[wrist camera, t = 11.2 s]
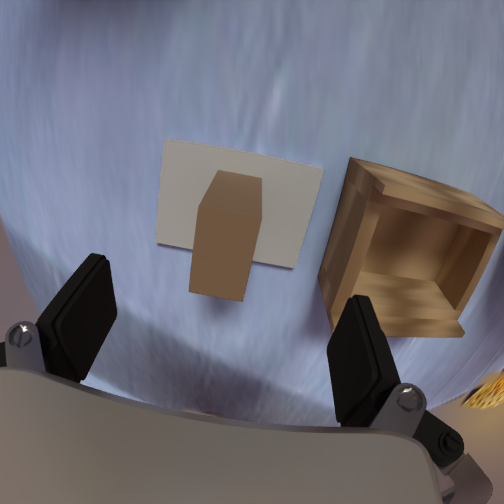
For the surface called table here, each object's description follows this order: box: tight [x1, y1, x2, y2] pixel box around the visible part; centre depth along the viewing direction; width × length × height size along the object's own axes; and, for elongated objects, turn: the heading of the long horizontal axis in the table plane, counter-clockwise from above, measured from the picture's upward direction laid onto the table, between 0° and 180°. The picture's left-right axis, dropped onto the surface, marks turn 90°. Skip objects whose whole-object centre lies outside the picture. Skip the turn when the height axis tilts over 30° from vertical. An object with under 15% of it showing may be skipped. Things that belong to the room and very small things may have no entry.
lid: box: [156, 139, 324, 302], centre depth 19 cm, size 11×8×8 cm
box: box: [318, 157, 504, 338], centre depth 19 cm, size 12×10×7 cm
